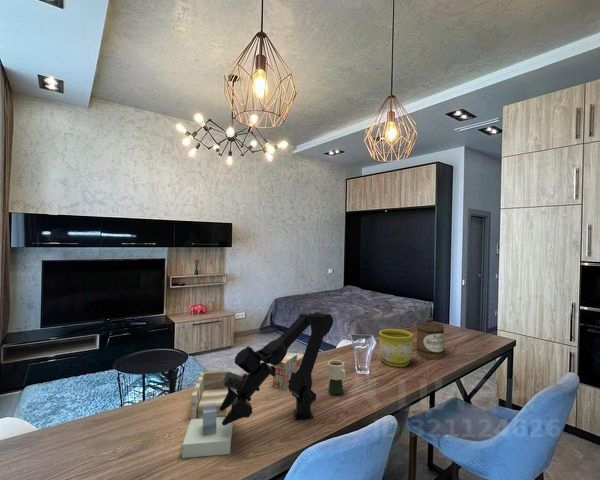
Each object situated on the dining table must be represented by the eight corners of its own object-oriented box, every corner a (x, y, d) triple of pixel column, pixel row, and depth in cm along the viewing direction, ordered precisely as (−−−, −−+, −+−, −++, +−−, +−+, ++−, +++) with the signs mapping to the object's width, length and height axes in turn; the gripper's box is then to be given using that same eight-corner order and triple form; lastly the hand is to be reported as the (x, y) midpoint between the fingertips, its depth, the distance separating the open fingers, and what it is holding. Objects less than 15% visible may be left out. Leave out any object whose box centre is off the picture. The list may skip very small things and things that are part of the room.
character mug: (350, 395, 136) (350, 364, 136) (339, 399, 132) (339, 368, 132) (333, 386, 145) (333, 357, 145) (321, 390, 140) (321, 360, 140)
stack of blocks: (294, 370, 162) (294, 346, 163) (305, 373, 160) (305, 348, 160) (272, 387, 143) (272, 360, 143) (284, 390, 140) (285, 362, 141)
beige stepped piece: (226, 417, 117) (227, 393, 118) (191, 420, 115) (191, 395, 116) (230, 390, 139) (230, 370, 139) (200, 392, 137) (201, 371, 137)
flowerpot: (420, 366, 169) (420, 335, 169) (392, 371, 162) (392, 339, 163) (398, 355, 186) (398, 327, 186) (372, 359, 179) (372, 330, 180)
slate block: (216, 433, 101) (216, 411, 101) (203, 435, 99) (203, 413, 100) (215, 423, 106) (215, 402, 107) (202, 425, 105) (203, 404, 105)
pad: (229, 453, 97) (230, 440, 97) (182, 458, 95) (182, 444, 95) (232, 427, 111) (232, 416, 111) (190, 431, 109) (191, 419, 109)
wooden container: (427, 360, 178) (427, 321, 178) (411, 352, 192) (411, 315, 192) (449, 358, 182) (449, 319, 182) (432, 350, 196) (432, 314, 197)
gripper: (234, 354, 115) (202, 389, 111) (241, 374, 97) (204, 417, 94) (256, 373, 117) (225, 408, 114) (267, 396, 100) (231, 439, 96)
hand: (221, 417), depth 104 cm, fingers open, 9 cm apart
